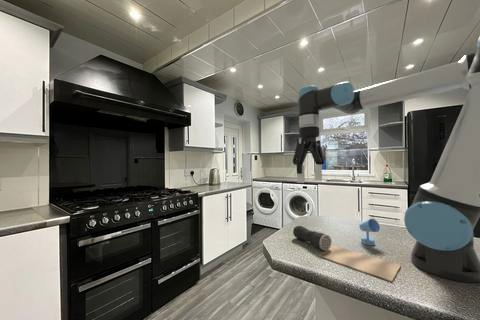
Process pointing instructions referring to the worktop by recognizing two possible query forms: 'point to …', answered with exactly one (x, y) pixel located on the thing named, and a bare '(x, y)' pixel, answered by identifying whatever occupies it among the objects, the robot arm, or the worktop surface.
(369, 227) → the spotlight
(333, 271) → the worktop surface
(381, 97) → the robot arm
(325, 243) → the flashlight
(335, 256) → the mat
